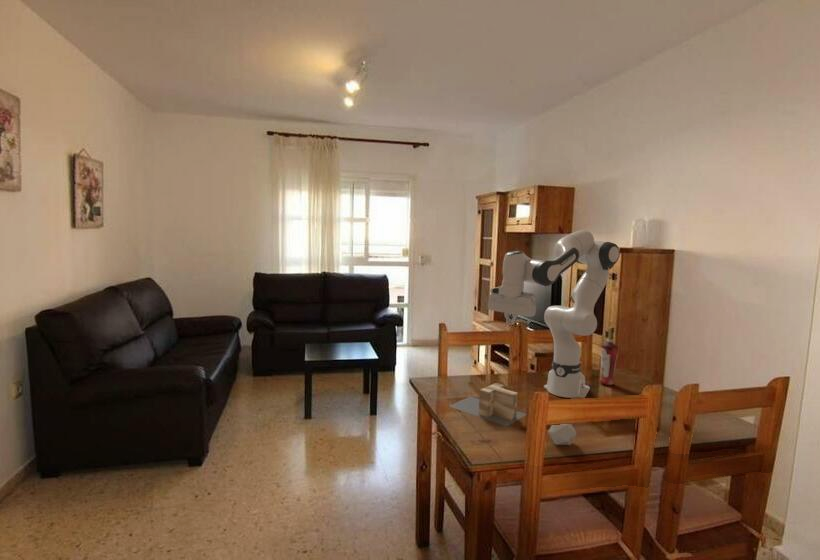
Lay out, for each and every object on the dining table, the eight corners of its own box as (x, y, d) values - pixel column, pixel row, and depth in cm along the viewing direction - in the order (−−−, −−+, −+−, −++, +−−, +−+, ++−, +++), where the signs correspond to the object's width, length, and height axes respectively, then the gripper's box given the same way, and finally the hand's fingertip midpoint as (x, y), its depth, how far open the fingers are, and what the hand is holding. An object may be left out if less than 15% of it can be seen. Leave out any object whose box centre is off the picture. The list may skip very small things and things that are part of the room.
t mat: (470, 396, 202) (470, 396, 202) (527, 414, 185) (527, 414, 185) (448, 406, 190) (448, 406, 190) (507, 427, 173) (507, 426, 173)
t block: (494, 406, 192) (495, 382, 191) (521, 414, 184) (522, 390, 183) (478, 414, 183) (480, 389, 182) (505, 423, 175) (507, 398, 174)
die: (570, 453, 155) (584, 428, 157) (548, 438, 156) (562, 413, 158) (562, 450, 163) (575, 426, 165) (541, 436, 164) (554, 412, 166)
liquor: (595, 382, 228) (599, 326, 225) (607, 381, 230) (612, 325, 227) (605, 387, 221) (610, 329, 218) (618, 386, 223) (623, 329, 220)
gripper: (539, 293, 186) (537, 327, 187) (494, 287, 199) (493, 319, 200) (532, 294, 181) (530, 329, 182) (486, 288, 194) (485, 321, 196)
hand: (510, 324), depth 192 cm, fingers closed
